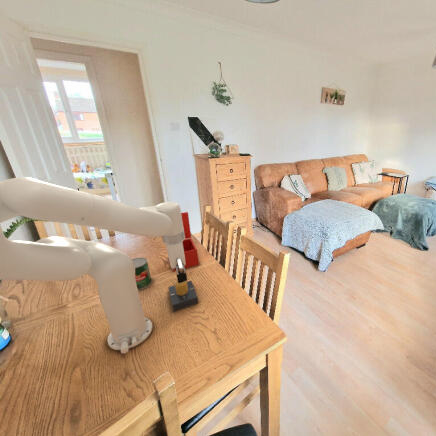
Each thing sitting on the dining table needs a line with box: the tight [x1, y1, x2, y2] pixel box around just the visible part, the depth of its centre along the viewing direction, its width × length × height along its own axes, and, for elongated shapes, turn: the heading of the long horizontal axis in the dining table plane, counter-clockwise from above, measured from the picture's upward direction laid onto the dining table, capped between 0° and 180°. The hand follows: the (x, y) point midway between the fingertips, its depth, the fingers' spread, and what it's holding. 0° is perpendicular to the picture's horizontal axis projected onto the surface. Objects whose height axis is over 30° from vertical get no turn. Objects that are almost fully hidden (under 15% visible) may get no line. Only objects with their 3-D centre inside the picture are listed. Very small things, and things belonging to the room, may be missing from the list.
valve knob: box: [174, 280, 188, 296], centre depth 95 cm, size 4×4×5 cm
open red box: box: [172, 237, 200, 272], centre depth 119 cm, size 14×12×9 cm
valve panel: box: [167, 280, 199, 312], centre depth 96 cm, size 12×9×3 cm
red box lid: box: [181, 211, 192, 240], centre depth 122 cm, size 14×12×6 cm
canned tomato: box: [131, 257, 153, 291], centre depth 101 cm, size 8×8×11 cm
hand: (180, 274), depth 93 cm, fingers open, 9 cm apart
